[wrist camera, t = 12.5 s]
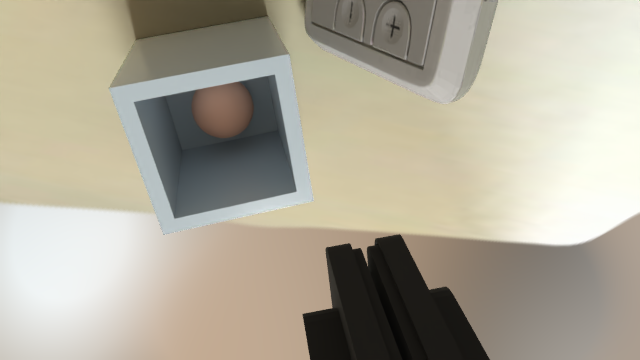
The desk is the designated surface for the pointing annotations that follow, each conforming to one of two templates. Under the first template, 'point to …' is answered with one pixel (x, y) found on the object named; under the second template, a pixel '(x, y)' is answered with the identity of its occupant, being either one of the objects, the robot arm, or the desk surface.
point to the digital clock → (407, 40)
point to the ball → (223, 109)
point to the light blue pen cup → (201, 148)
